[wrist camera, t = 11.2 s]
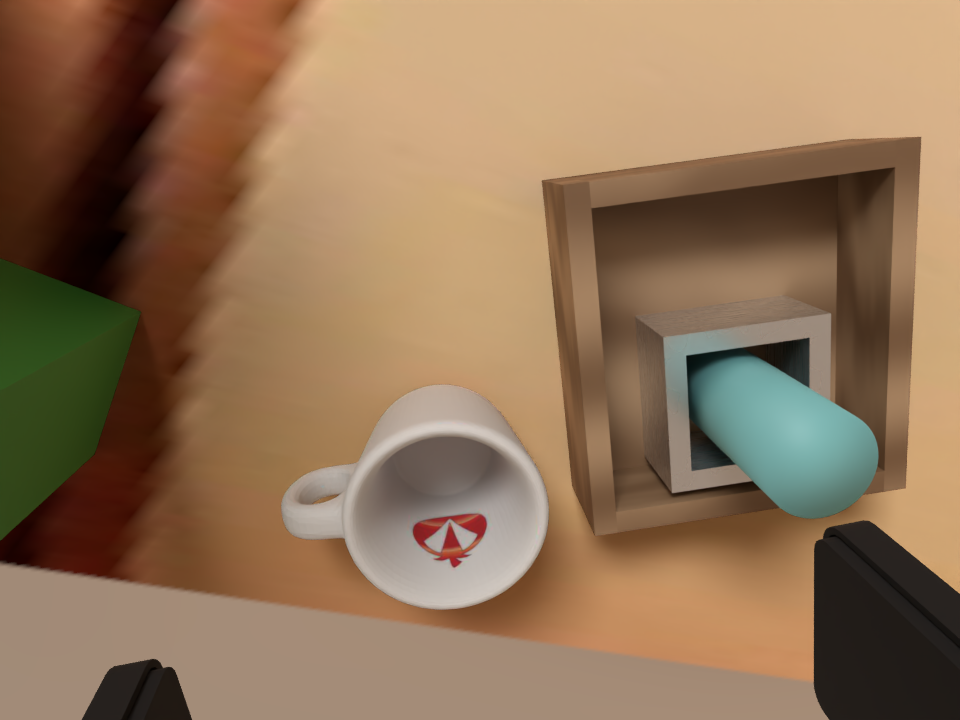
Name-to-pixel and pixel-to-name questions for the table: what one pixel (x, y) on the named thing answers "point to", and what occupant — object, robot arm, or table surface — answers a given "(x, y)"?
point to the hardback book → (53, 382)
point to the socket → (672, 335)
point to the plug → (781, 433)
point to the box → (730, 297)
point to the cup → (431, 502)
